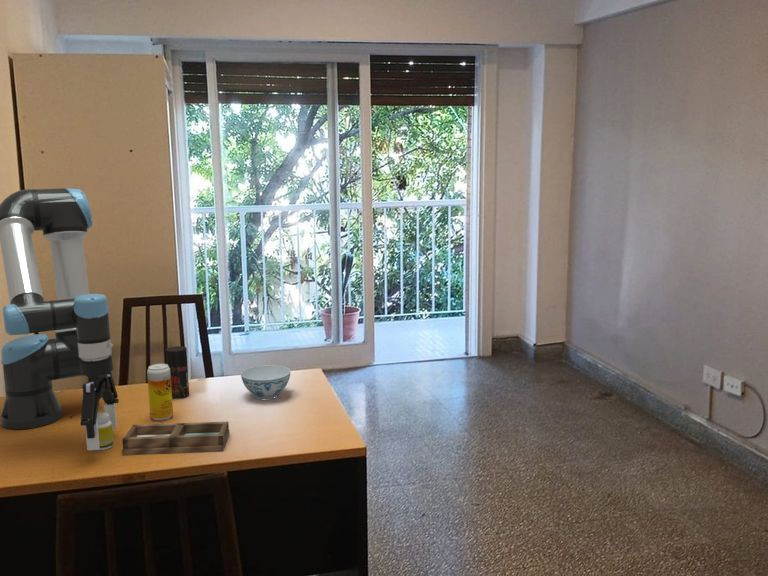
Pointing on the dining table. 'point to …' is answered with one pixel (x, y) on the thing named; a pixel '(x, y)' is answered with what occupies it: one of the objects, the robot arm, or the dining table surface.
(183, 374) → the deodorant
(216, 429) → the divided tray
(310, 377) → the dining table surface
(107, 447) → the supplement bottle
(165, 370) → the yellow canister
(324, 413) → the dining table surface
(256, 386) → the chinaware
